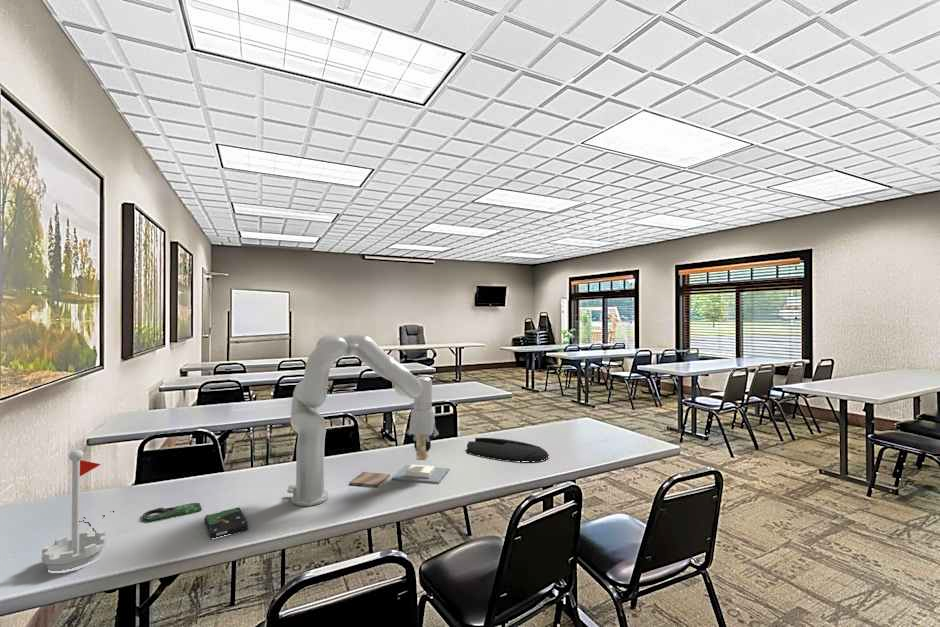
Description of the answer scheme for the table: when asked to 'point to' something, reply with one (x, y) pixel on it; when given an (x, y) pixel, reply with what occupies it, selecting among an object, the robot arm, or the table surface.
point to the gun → (171, 512)
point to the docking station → (506, 450)
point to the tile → (420, 471)
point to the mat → (434, 478)
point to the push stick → (421, 448)
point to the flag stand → (75, 529)
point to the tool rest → (369, 479)
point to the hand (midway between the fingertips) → (422, 449)
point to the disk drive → (226, 523)
